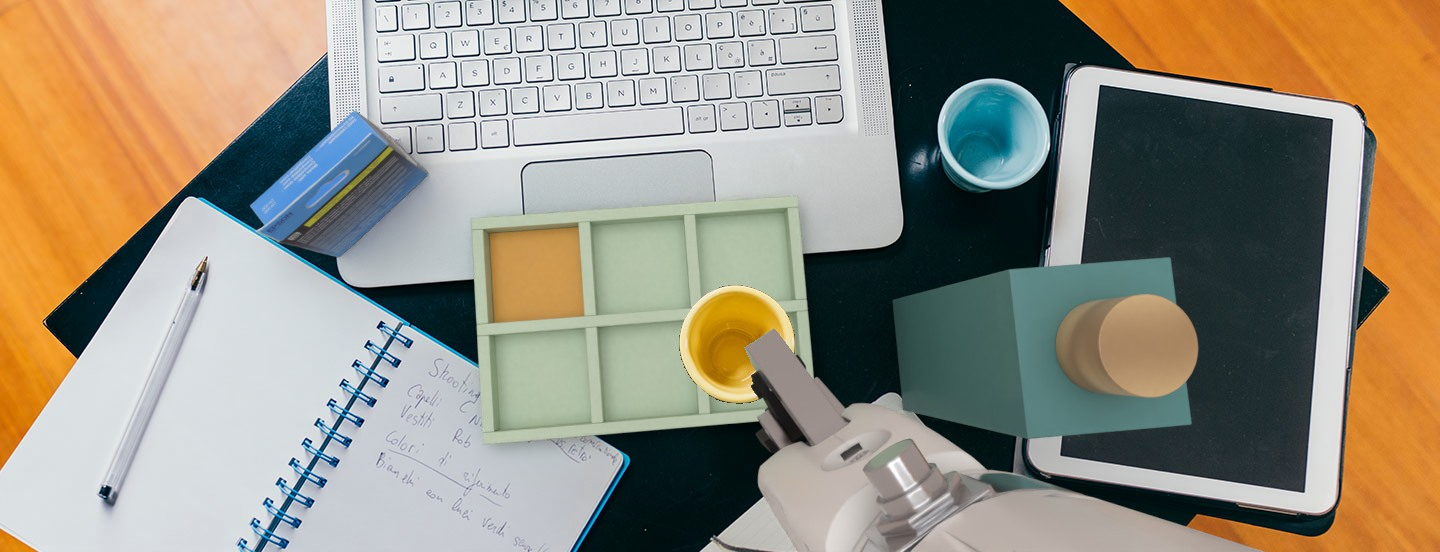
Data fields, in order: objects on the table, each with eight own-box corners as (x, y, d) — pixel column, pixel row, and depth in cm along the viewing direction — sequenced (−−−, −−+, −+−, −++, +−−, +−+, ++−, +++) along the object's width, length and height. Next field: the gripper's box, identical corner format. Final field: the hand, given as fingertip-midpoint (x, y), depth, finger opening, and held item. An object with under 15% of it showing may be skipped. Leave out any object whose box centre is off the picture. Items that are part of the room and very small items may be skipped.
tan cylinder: (1150, 389, 41) (1205, 393, 37) (1060, 397, 41) (1105, 401, 36) (1139, 297, 41) (1192, 290, 37) (1049, 304, 41) (1092, 298, 37)
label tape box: (395, 137, 62) (326, 83, 50) (434, 177, 62) (375, 133, 50) (302, 222, 61) (209, 188, 49) (342, 263, 61) (258, 239, 49)
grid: (811, 413, 62) (817, 416, 59) (490, 441, 60) (482, 444, 58) (792, 202, 63) (797, 195, 61) (479, 224, 62) (470, 218, 59)
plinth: (1011, 401, 63) (1192, 424, 41) (902, 410, 62) (1027, 439, 40) (999, 291, 63) (1170, 257, 41) (892, 299, 63) (1008, 269, 41)
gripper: (661, 415, 20) (667, 392, 37) (1098, 1092, 19) (895, 745, 36) (929, 238, 20) (812, 296, 37) (1362, 879, 19) (1040, 638, 36)
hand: (853, 515), depth 36 cm, fingers open, 9 cm apart
